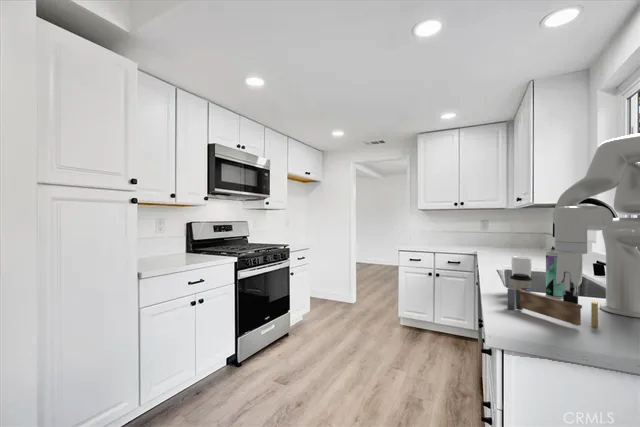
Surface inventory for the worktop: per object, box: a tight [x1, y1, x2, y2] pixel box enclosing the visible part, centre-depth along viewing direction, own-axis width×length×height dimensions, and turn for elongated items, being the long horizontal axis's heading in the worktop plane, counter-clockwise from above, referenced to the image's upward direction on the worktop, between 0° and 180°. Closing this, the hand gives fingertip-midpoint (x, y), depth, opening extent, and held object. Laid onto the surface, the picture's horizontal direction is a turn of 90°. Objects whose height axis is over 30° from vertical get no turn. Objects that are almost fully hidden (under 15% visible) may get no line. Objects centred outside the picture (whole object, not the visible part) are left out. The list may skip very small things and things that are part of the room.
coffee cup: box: [509, 274, 533, 292], centre depth 113 cm, size 7×7×10 cm
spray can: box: [545, 245, 564, 300], centre depth 119 cm, size 6×6×20 cm
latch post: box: [590, 301, 599, 329], centre depth 88 cm, size 2×1×7 cm, turn 131°
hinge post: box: [507, 287, 517, 311], centre depth 104 cm, size 2×2×7 cm
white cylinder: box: [511, 255, 532, 278], centre depth 123 cm, size 7×7×15 cm
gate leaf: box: [515, 289, 583, 326], centre depth 94 cm, size 19×2×7 cm, turn 19°
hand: (570, 308), depth 90 cm, fingers closed
